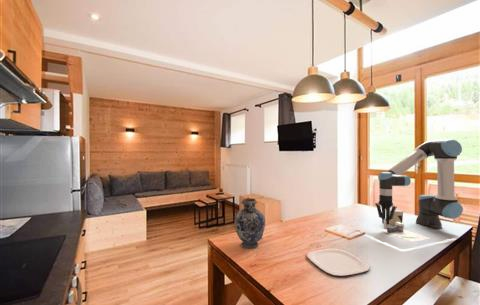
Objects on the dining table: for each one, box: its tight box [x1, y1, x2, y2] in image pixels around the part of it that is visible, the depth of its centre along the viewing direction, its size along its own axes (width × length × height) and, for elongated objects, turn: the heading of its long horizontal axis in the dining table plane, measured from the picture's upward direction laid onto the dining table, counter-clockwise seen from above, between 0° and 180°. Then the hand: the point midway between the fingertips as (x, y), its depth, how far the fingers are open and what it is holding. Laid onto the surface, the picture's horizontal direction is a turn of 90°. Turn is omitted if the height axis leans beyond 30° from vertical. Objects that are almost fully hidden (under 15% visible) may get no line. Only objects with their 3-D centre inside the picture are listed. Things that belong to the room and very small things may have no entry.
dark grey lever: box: [387, 222, 405, 234], centre depth 153 cm, size 13×5×5 cm, turn 109°
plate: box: [306, 248, 371, 277], centre depth 115 cm, size 25×25×2 cm
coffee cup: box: [389, 208, 404, 226], centre depth 169 cm, size 9×9×12 cm
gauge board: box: [379, 228, 431, 243], centre depth 149 cm, size 18×22×2 cm
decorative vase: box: [234, 196, 266, 250], centre depth 137 cm, size 21×19×28 cm
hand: (385, 228), depth 154 cm, fingers closed
